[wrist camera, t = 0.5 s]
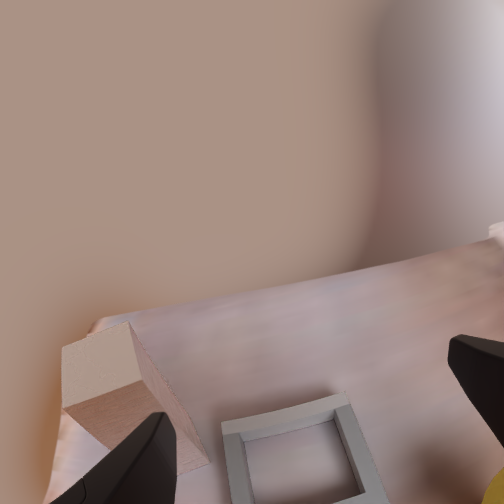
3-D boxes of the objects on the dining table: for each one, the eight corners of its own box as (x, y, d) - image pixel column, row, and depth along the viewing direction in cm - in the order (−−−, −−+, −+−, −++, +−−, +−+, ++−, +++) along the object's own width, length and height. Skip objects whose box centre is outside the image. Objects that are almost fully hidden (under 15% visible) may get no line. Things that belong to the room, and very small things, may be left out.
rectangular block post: (210, 462, 21) (141, 379, 14) (156, 482, 19) (62, 408, 13) (190, 417, 25) (127, 320, 18) (141, 436, 23) (61, 347, 17)
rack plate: (387, 515, 14) (393, 511, 13) (246, 552, 14) (239, 551, 13) (343, 402, 24) (345, 389, 22) (226, 431, 23) (220, 420, 22)
